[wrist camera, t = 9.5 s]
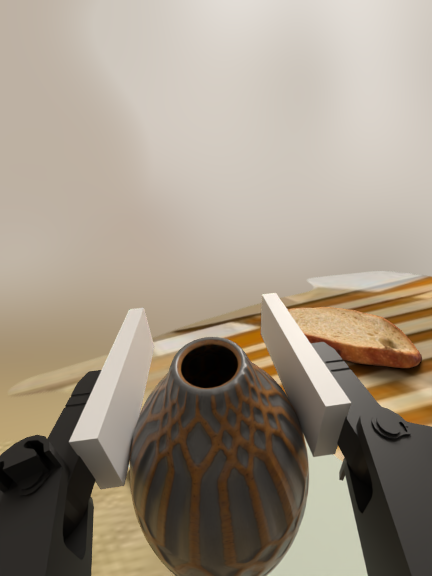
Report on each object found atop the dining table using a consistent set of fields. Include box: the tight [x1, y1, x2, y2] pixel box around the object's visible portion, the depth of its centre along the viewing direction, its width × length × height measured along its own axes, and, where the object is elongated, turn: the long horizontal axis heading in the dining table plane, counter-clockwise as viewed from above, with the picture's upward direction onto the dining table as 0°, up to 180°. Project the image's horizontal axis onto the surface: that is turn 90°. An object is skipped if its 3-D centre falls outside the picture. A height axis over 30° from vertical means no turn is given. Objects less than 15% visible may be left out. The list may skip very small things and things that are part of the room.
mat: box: [129, 434, 368, 576], centre depth 19 cm, size 20×14×1 cm
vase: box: [130, 337, 309, 576], centre depth 9 cm, size 7×7×9 cm
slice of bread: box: [288, 307, 422, 368], centre depth 35 cm, size 18×18×4 cm
